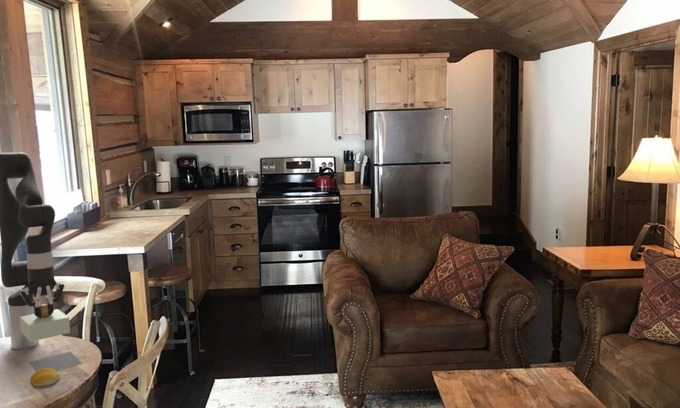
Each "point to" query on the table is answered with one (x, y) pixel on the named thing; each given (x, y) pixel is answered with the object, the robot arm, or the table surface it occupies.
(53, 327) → the cover
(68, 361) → the mat
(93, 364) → the table surface
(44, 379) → the bread roll
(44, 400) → the table surface
